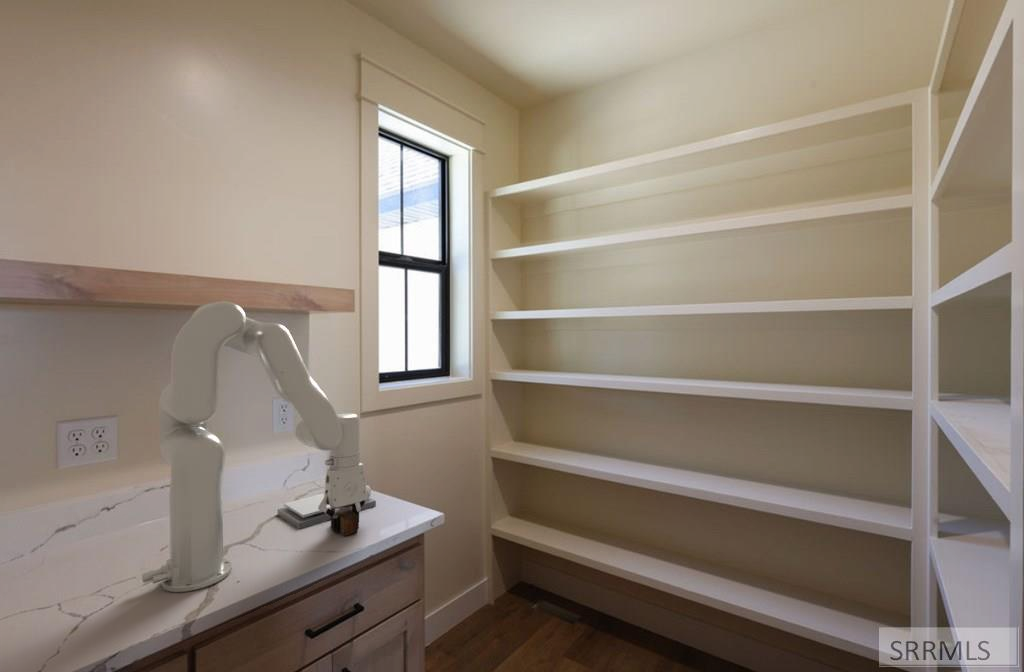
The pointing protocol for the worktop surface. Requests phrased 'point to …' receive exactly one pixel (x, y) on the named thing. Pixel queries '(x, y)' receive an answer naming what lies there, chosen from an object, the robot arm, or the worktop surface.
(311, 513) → the scale
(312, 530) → the worktop surface
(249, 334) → the robot arm
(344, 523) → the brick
